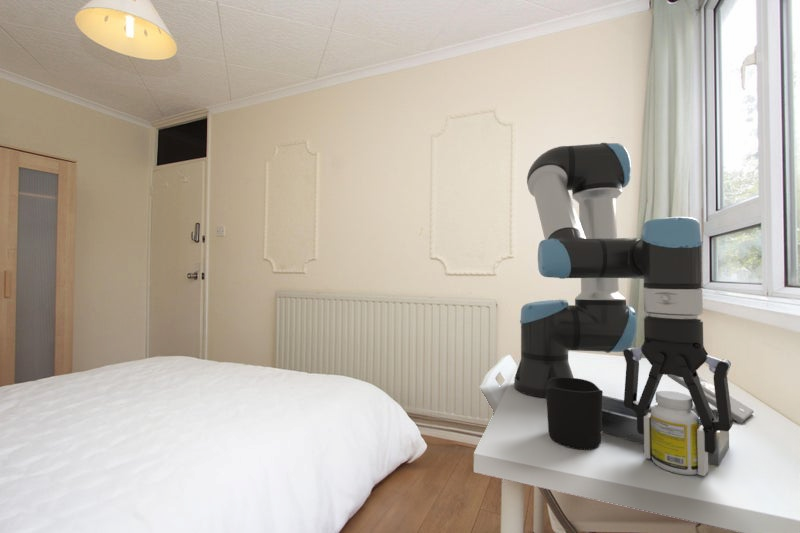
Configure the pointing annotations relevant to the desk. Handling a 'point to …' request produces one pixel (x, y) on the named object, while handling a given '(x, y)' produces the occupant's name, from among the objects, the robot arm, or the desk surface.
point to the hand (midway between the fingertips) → (675, 463)
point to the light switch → (737, 408)
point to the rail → (625, 426)
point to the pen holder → (574, 412)
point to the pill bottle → (674, 433)
